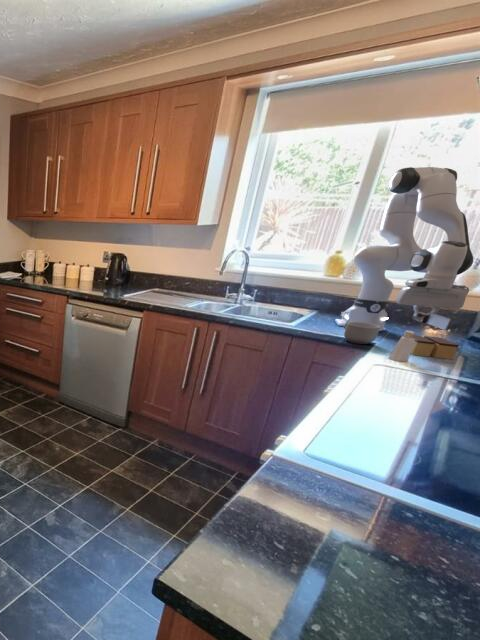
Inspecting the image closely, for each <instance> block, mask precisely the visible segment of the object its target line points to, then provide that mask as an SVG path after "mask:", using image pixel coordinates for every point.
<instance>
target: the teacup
mask: <svg viewBox="0 0 480 640" xmlns="http://www.w3.org/2000/svg"><path fill="white" fill-rule="evenodd" d="M343 327H344V335H343V337H344V339H346V340H347V341H348V342H350V343H352V344H359V345H367V344H369V343H372V342H374V341H375V340H376V339H377V337H378V334H379V332H380V331H379V329H380V326H379V325H375V324H371V323H364V322H352V321H348V322H346V323H345V325H344V326H343Z"/></svg>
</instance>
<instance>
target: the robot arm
mask: <svg viewBox="0 0 480 640" xmlns="http://www.w3.org/2000/svg"><path fill="white" fill-rule="evenodd" d="M457 180H458V173H457V171H456V170H454V169H453V168H447V167H443V168H442V167H436V166H425V167H423V166H422V167H421V166H419V167H412V166H410V167H402V168H400V169H398V170H397V171H395V173H393V175H392V176H391V177H390V179H389V181H388V185H387V186H388V190H389V191H390V192H391V193H393V194H391V196H390V197H389V199H388V201H387V203H386V206H385V208H384V212H383V214H382V219H381V223H380V227H379V231H378V232H379V235H380V236H381V237H382V238H384V239H385V240H386V241H387V242H388V243H389V245H380V244H379V245H377V244H376V245H367V246H362V247H361V248H360V249H358V250H357V252H356V253H355V254H354V257H353V263H354V265H355V266H356V268H357V269H358V270H359V271H360V273H361V275H362V284H361V287H360V291H359V292H358V293H359V294H358V296H357V297H356V299H355V300H354V302H353V303H352V305H351V306H350V307H349V308H347V309H346V310H344V311H341V313H340V317H341V318H336V319H335V320H334V322H335V323H336V325H337V326H339V327H344V325H345V323H346V322H348V321H352V322H364V323H371V324H375V325H379V326H380V329H379V332H381V331H383V332H384V331H387V328H386V327H384V326H385V324H386V321H387V320H389V317H388V313H387V311H386V309H387V307H388V306H389V299H390V297H391V294H392V292H393V290H394V283H393V281H392V280H390V279H388V278H387V277H386V274H385V273H386V272H387V271H388V272H390V271H391V272H409V271H413V272H416V273H421V274H424V275H423V277H419V278H413V279H408V280H406V281H405V282H404V286H403V287H402V288H400V290H399V292H398V294H397V295H396V297H395V303H396V304H397V305H404V306H405V305H407V306H413V307H412V308H413V312H414V313H413V315H412V317H413V316H414V317H420V315H421V313H420V312H421V311H420V309H421V307H430V308H431V311H430V312H425V313H426V314H429V313H434V314H437V312H439V311H440V309H441V308H442V309H450V310H451V309H452V310H460V309H461V308H463V307H464V305H465V302H466V298H467V295H468V294H469V292H470V288H469V287H468V286H467V285H465V284H463V285H462V284H461V285H458V284H455V281H456V279H457V277H458V275H461V274H463V273H465V272H466V271H468V270H470V268H471V267H472V266H473V264H474V254H473V253H472V250H471V247H470V238H469V237H470V236H469V230H468V222H467V217H466V215H465V213H464V212H462V210H461V209H460V208H459V205H458V202H457V195H458V194H457V193H458V192H457ZM417 217H418V219H419V220H421V221H422V222H424V223H427V224H429V225H433V226H435V227H437V228H439V229H441V230H442V231H444V232H445V233H446V236H447V240H444V241H441V242H439V244H437V245H435V246H432V247H429V248H423V249H422V248H421V247H420V246H419V244H417V242H416V240H415V236H414V227H415V221H416V218H417Z"/></svg>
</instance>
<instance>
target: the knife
mask: <svg viewBox="0 0 480 640" xmlns="http://www.w3.org/2000/svg"><path fill="white" fill-rule="evenodd" d="M419 312H420V313H421V315H420V317H414V316H413V315H412V318H411V319H412V320H414V321H416V322H419V323H422V324H427V325H430V326H431V327H434V328H437V329H440V330H443V331H447V330H448V328H449V326H450V324H451V322H452V318H450V317H446V316H443V315H440V314H437V313H435V314H434V313H430V312H428V313H429V314H426V313H427V312H423V311H419Z"/></svg>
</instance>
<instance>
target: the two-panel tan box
mask: <svg viewBox="0 0 480 640" xmlns="http://www.w3.org/2000/svg"><path fill="white" fill-rule="evenodd" d="M404 334H405V333H403V334H402V336H401V337H404ZM413 339H414V342H413V345H412V349H411V352H410V355H413V356H420V357H430V356H431V357H433V358H437V359H446V360H453V358H454V356H455V354H456V351H457V350H458V347H459V344H458V343H455V342H452V341H450V340H448V339H445V338H442V337H437V336H428V335H424V336H422V335H418V334H414V336H413Z"/></svg>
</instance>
